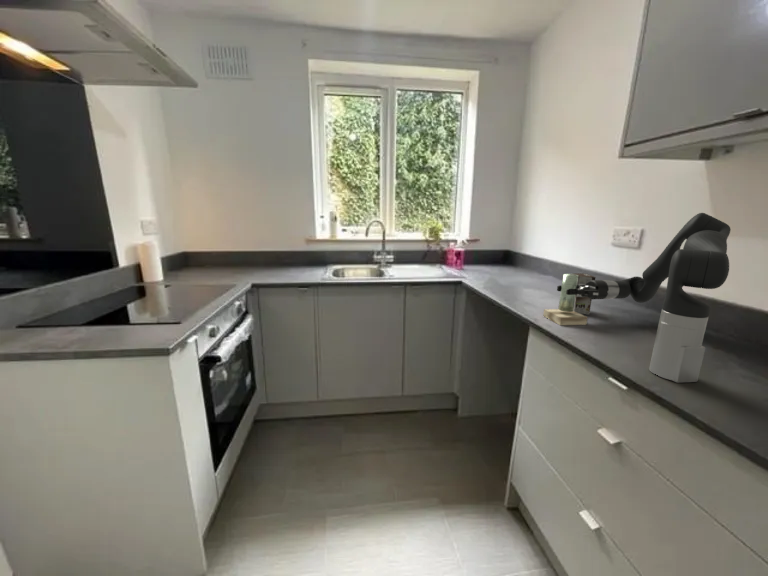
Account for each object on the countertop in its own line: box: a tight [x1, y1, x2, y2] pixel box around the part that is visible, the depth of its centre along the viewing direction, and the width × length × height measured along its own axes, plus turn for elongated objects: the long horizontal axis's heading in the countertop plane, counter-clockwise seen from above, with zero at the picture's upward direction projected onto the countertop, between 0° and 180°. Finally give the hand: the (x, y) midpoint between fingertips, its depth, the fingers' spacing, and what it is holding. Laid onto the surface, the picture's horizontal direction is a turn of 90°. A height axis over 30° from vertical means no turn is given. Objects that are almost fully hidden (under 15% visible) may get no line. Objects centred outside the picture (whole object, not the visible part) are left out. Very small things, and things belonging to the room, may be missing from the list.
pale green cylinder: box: [557, 273, 578, 312], centre depth 135 cm, size 5×5×14 cm
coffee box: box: [572, 272, 596, 315], centre depth 149 cm, size 9×6×16 cm
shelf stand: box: [542, 308, 589, 326], centre depth 137 cm, size 11×11×3 cm
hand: (562, 290), depth 134 cm, fingers closed on pale green cylinder, 5 cm apart
